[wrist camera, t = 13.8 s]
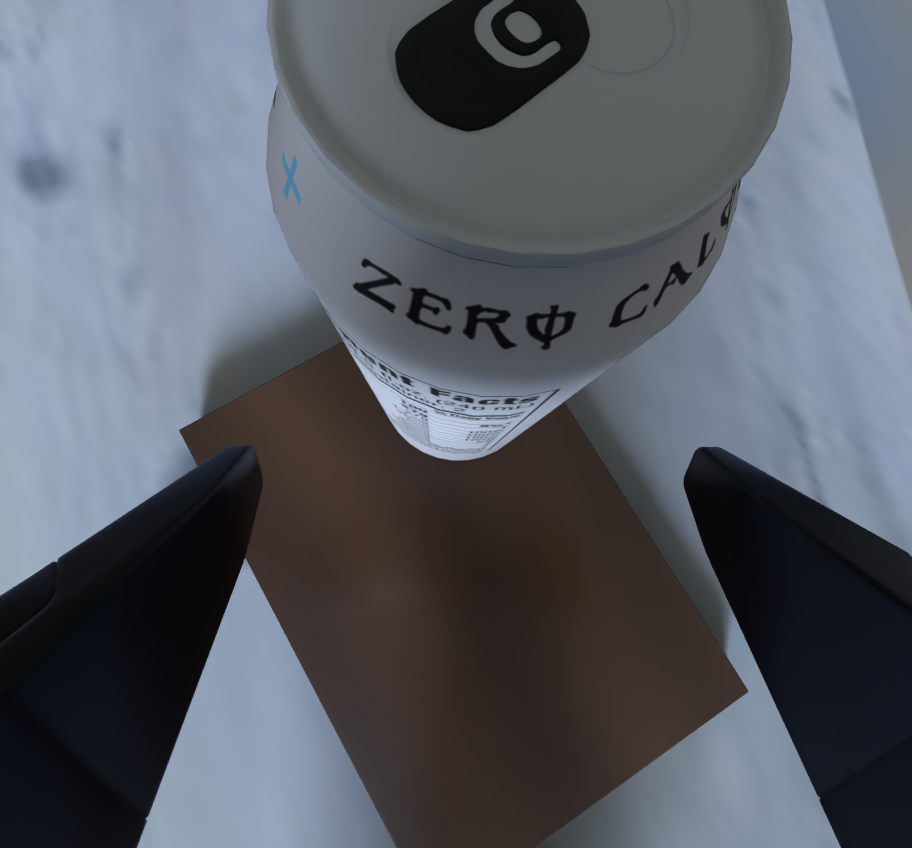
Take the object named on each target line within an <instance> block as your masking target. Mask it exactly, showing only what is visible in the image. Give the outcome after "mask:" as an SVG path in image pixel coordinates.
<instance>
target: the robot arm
mask: <svg viewBox="0 0 912 848" xmlns="http://www.w3.org/2000/svg"><path fill="white" fill-rule="evenodd" d="M262 488H263V475H262V472H261V468H260V465H259V461H258V458H257V454H256V451H255V449H254V447H253V446H251V445H230V446H228V447H226V448H225V449H223V450H222V451H220V452H219V453H217V454H216V455H214V456H213V457H211V458H210V459H208V460H207V461H205V462H204V463H202V464H201V465H199V466H198V467H196V468H195V469H193V470H192V471H190V472H188V473H187V474H185V475H184V476H182V477H181V478H179V479H178V480H176V481H175V482H173V483H172V484H170V485H169V486H167V487H166V488H164V489H163V490H161V491H160V492H158V493H157V494H155V495H154V496H152V497H151V498H149V499H148V500H146V501H145V502H143V503H141V504H140V505H138V506H137V507H135V508H134V509H132V510H131V511H129V512H128V513H126V514H125V515H123V516H122V517H120V518H119V519H117V520H116V521H114V522H113V523H111V524H110V525H108V526H107V527H105V528H104V529H102V530H101V531H99V532H97V533H96V534H94V535H93V536H91V537H90V538H88V539H87V540H85V541H84V542H82V543H81V544H79V545H78V546H76V547H75V548H73V549H72V550H70V551H69V552H67V553H66V554H64V555H63V556H61V557H60V558H58V561H57V562H52V563H50V564H49V565H47V566H46V567H44V568H43V569H41V570H40V571H38V572H37V573H35V574H34V575H32V576H31V577H29V578H27V579H26V580H24V581H23V582H21V583H20V584H18V585H17V586H15V587H13V588H12V589H10V590H9V591H7V592H6V593H4V594H2V595H1V596H0V848H137V846H138V843H139V841H140V838H141V835H142V833H143V830H144V827H145V825H146V822H147V820H146V818H147V817H148V815H149V813H150V810H151V808H152V805H153V802H154V800H155V797H156V794H157V792H158V789H159V786H160V784H161V781H162V778H163V776H164V773H165V770H166V768H167V765H168V762H169V760H170V757H171V754H172V752H173V749H174V746H175V744H176V741H177V738H178V736H179V733H180V730H181V728H182V725H183V722H184V720H185V717H186V714H187V712H188V709H189V706H190V704H191V701H192V698H193V696H194V693H195V690H196V687H197V685H198V682H199V679H200V677H201V674H202V671H203V669H204V666H205V663H206V661H207V658H208V655H209V653H210V650H211V647H212V645H213V642H214V639H215V637H216V634H217V631H218V629H219V626H220V623H221V621H222V618H223V615H224V613H225V610H226V607H227V605H228V602H229V599H230V597H231V594H232V591H233V589H234V586H235V583H236V581H237V578H238V575H239V573H240V570H241V567H242V565H243V562H244V559H245V556H246V553H247V549H248V545H249V541H250V537H251V533H252V529H253V525H254V521H255V517H256V513H257V508H258V504H259V500H260V496H261V492H262ZM684 489H685V492H686V495H687V498H688V501H689V504H690V507H691V510H692V513H693V516H694V519H695V522H696V525H697V528H698V531H699V534H700V537H701V540H702V543H703V546H704V548H705V551H706V553H707V556H708V558H709V560H710V563H711V565H712V567H713V569H714V571H715V574H716V576H717V578H718V580H719V582H720V585H721V587H722V589H723V591H724V593H725V595H726V598H727V600H728V602H729V604H730V606H731V608H732V611H733V613H734V615H735V617H736V619H737V622H738V624H739V626H740V628H741V630H742V632H743V635H744V637H745V639H746V641H747V643H748V645H749V648H750V650H751V652H752V654H753V656H754V659H755V661H756V663H757V665H758V667H759V669H760V672H761V674H762V676H763V678H764V680H765V682H766V685H767V687H768V689H769V691H770V693H771V696H772V698H773V700H774V702H775V704H776V706H777V709H778V711H779V713H780V715H781V717H782V719H783V722H784V724H785V726H786V728H787V730H788V733H789V735H790V737H791V739H792V741H793V743H794V746H795V748H796V750H797V752H798V754H799V756H800V759H801V761H802V763H803V765H804V767H805V770H806V772H807V774H808V776H809V778H810V780H811V783H812V785H813V787H814V789H815V791H816V793H817V795H818V797H820V803H821V805H822V807H823V809H824V812H825V814H826V816H827V818H828V820H829V823H830V825H831V827H832V829H833V831H834V833H835V836H836V838H837V840H838V842H839V844H840V846H841V848H912V556H910V554H909V553H907V552H906V551H904V550H902V549H900V548H898V547H897V546H895V545H893V544H891V543H890V542H888V541H886V540H884V539H882V538H881V537H879V536H877V535H875V534H874V533H872V532H870V531H868V530H866V529H865V528H863V527H861V526H859V525H857V524H856V523H854V522H852V521H850V520H849V519H847V518H845V517H843V516H841V515H840V514H838V513H836V512H834V511H833V510H831V509H829V508H827V507H825V506H824V505H822V504H820V503H818V502H817V501H815V500H813V499H811V498H809V497H808V496H806V495H804V494H802V493H801V492H799V491H797V490H795V489H793V488H792V487H790V486H788V485H786V484H785V483H783V482H781V481H779V480H777V479H776V478H774V477H772V476H770V475H768V474H767V473H765V472H763V471H761V470H760V469H758V468H756V467H754V466H752V465H751V464H749V463H747V462H745V461H744V460H742V459H740V458H738V457H736V456H735V455H733V454H731V453H729V452H728V451H726V450H724V449H722V448H720V447H700V448H698V449H697V450H696V451H695V453H694V455H693V457H692V459H691V462H690V464H689V466H688V469H687V471H686V473H685V476H684Z"/></svg>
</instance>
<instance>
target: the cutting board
mask: <svg viewBox="0 0 912 848" xmlns="http://www.w3.org/2000/svg"><path fill="white" fill-rule="evenodd" d="M179 431H180V433H181V435H182V437H183V439H184V441H185V443H186V445H187V447H188V448H189V450H190V452H191V454H192V456H193V458H194V460H195V462H196V464H197V466H199V465H201V464H202V463H204V462H205V461H207V460H208V459H210V458H211V457H213V456H214V455H216V454H217V453H219V452H220V451H222V450H223V449H225V448H226V447H228V446H230V445H251V446H253V447H254V449H255V451H256V454H257V458H258V461H259V465H260V468H261V472H262V475H263V488H262V492H261V496H260V500H259V504H258V508H257V513H256V517H255V521H254V525H253V529H252V533H251V537H250V541H249V545H248V549H247V553H246V556H245V558H246V560H247V562H248V564H249V565H250V567H251V569H252V571H253V573H254V575H255V577H256V579H257V581H258V583H259V585H260V587H261V589H262V590H263V592H264V594H265V596H266V598H267V600H268V602H269V604H270V606H271V608H272V610H273V612H274V613H275V615H276V617H277V619H278V621H279V623H280V625H281V627H282V629H283V631H284V633H285V635H286V636H287V638H288V640H289V642H290V644H291V646H292V648H293V650H294V652H295V654H296V656H297V658H298V660H299V661H300V663H301V665H302V667H303V669H304V671H305V673H306V675H307V677H308V679H309V681H310V683H311V684H312V686H313V688H314V690H315V692H316V694H317V696H318V698H319V700H320V702H321V704H322V706H323V707H324V709H325V711H326V713H327V715H328V717H329V719H330V721H331V723H332V725H333V727H334V729H335V731H336V732H337V734H338V736H339V738H340V740H341V742H342V744H343V746H344V748H345V750H346V752H347V754H348V755H349V757H350V759H351V761H352V763H353V765H354V767H355V769H356V771H357V773H358V775H359V777H360V778H361V780H362V782H363V784H364V786H365V788H366V790H367V792H368V794H369V796H370V798H371V800H372V802H373V803H374V805H375V807H376V809H377V811H378V813H379V815H380V817H381V819H382V821H383V823H384V825H385V826H386V828H387V830H388V832H389V834H390V836H391V838H392V840H393V842H394V844H395V846H396V848H534V847H536V846H537V845H538V844H540V843H541V842H542V841H544V840H545V839H547V838H548V837H549V836H551V835H552V834H553V833H555V832H556V831H558V830H559V829H560V828H562V827H563V826H564V825H566V824H567V823H569V822H570V821H571V820H573V819H574V818H575V817H577V816H578V815H580V814H581V813H582V812H584V811H585V810H586V809H588V808H589V807H591V806H592V805H593V804H595V803H596V802H597V801H599V800H600V799H602V798H603V797H604V796H606V795H607V794H608V793H610V792H611V791H613V790H614V789H615V788H617V787H618V786H619V785H621V784H622V783H624V782H625V781H626V780H628V779H629V778H630V777H632V776H633V775H635V774H636V773H637V772H639V771H640V770H641V769H643V768H644V767H646V766H647V765H648V764H650V763H651V762H652V761H654V760H655V759H657V758H658V757H659V756H661V755H662V754H663V753H665V752H666V751H668V750H669V749H670V748H672V747H673V746H674V745H676V744H677V743H679V742H680V741H681V740H683V739H684V738H686V737H687V736H688V735H690V734H691V733H692V732H694V731H695V730H697V729H698V728H699V727H701V726H702V725H703V724H705V723H706V722H708V721H709V720H710V719H712V718H713V717H714V716H716V715H717V714H719V713H720V712H721V711H723V710H724V709H725V708H727V707H728V706H730V705H731V704H732V703H734V702H735V701H736V700H738V699H739V698H741V697H742V696H743V695H745V694H746V693H747V692H748V690H747V688H746V686H745V685H744V683H743V682H742V680H741V679H740V677H739V675H738V674H737V672H736V671H735V669H734V668H733V666H732V664H731V663H730V661H729V660H728V658H727V657H726V655H725V653H724V652H723V650H722V649H721V647H720V646H719V644H718V642H717V641H716V639H715V638H714V636H713V635H712V633H711V631H710V630H709V628H708V627H707V625H706V624H705V622H704V620H703V619H702V617H701V616H700V614H699V613H698V611H697V609H696V608H695V606H694V605H693V603H692V602H691V600H690V598H689V597H688V595H687V594H686V592H685V591H684V589H683V587H682V586H681V584H680V583H679V581H678V580H677V578H676V576H675V575H674V573H673V572H672V570H671V569H670V567H669V565H668V564H667V562H666V561H665V559H664V558H663V556H662V554H661V553H660V551H659V550H658V548H657V547H656V545H655V543H654V542H653V540H652V539H651V537H650V536H649V534H648V532H647V531H646V529H645V528H644V526H643V525H642V523H641V521H640V520H639V518H638V517H637V515H636V514H635V512H634V510H633V509H632V507H631V506H630V504H629V503H628V501H627V499H626V498H625V496H624V495H623V493H622V492H621V490H620V488H619V487H618V485H617V484H616V482H615V481H614V479H613V477H612V476H611V474H610V473H609V471H608V470H607V468H606V466H605V465H604V463H603V462H602V460H601V459H600V457H599V455H598V454H597V452H596V451H595V449H594V448H593V446H592V444H591V443H590V441H589V440H588V438H587V437H586V435H585V433H584V432H583V430H582V429H581V427H580V426H579V424H578V422H577V421H576V419H575V418H574V416H573V415H572V413H571V411H570V410H569V408H568V407H567V405H566V404H565V402H563V403H562V404H560V405H559V406H558V407H556V408H555V409H554V410H552V411H551V412H549V413H548V414H547V415H545V416H544V417H543V418H541V419H540V420H539V421H537V422H536V423H535V424H533V425H532V426H530V427H529V428H528V429H526V430H525V431H524V432H522V433H521V434H520V435H518V436H517V437H516V438H514V439H513V440H511V441H510V442H509V443H507V444H506V445H504V446H503V447H502V448H500V449H499V450H497V451H495V452H493V453H491V454H488V455H486V456H484V457H480V458H476V459H471V460H447V459H442V458H437V457H434V456H432V455H429V454H427V453H424V452H422V451H420V450H419V449H417V448H416V447H414V446H413V445H411V444H410V443H409V442H408V441H407V440H406V439H405V438H403V437H402V436H401V435H400V434H399V433H398V431H397V430H396V428H395V427H394V425H393V424H392V422H391V421H390V419H389V418H388V416H387V414H386V412H385V411H384V409H383V407H382V406H381V404H380V402H379V401H378V399H377V397H376V395H375V394H374V392H373V390H372V389H371V387H370V385H369V384H368V382H367V380H366V379H365V377H364V375H363V373H362V372H361V370H360V368H359V367H358V365H357V363H356V362H355V360H354V358H353V356H352V355H351V353H350V351H349V350H348V348H347V346H346V345H345V343H344V341H343V342H341V343H339V344H338V345H336V346H334V347H332V348H330V349H328V350H326V351H325V352H323V353H321V354H319V355H317V356H315V357H314V358H312V359H310V360H308V361H306V362H304V363H302V364H301V365H299V366H297V367H295V368H293V369H291V370H289V371H288V372H286V373H284V374H282V375H280V376H278V377H277V378H275V379H273V380H271V381H269V382H267V383H265V384H264V385H262V386H260V387H258V388H256V389H254V390H252V391H251V392H249V393H247V394H245V395H243V396H241V397H240V398H238V399H236V400H234V401H232V402H230V403H228V404H227V405H225V406H223V407H221V408H219V409H217V410H215V411H214V412H212V413H210V414H208V415H206V416H204V417H202V418H201V419H199V420H197V421H195V422H193V423H191V424H190V425H188V426H186V427H184V428H182V429H180V430H179Z"/></svg>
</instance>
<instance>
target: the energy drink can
mask: <svg viewBox="0 0 912 848" xmlns="http://www.w3.org/2000/svg"><path fill="white" fill-rule="evenodd" d="M267 32H268V38H269V43H270V49H271V54H272V60H273V65H274V71H275V75H276V78H277V81H278V84H277V87H276V91H275V95H274V99H273V103H272V107H271V111H270V116H269V123H268V142H267V162H266V169H267V175H268V180H269V186H270V192H271V198H272V203H273V209H274V212H275V215H276V217H277V220H278V222H279V224H280V227H281V229H282V232H283V234H284V237H285V239H286V241H287V244H288V246H289V249H290V251H291V253H292V255H293V256H294V258H295V260H296V262H297V263H298V265H299V267H300V268H301V270H302V272H303V273H304V275H305V277H306V279H307V280H308V282H309V284H310V285H311V287H312V289H313V290H314V292H315V294H316V295H317V297H318V299H319V301H320V302H321V304H322V306H323V307H324V309H325V311H326V312H327V314H328V316H329V318H330V319H331V321H332V323H333V324H334V326H335V328H336V329H337V331H338V333H339V334H340V336H341V338H342V340H343V341H344V343H345V345H346V346H347V348H348V350H349V351H350V353H351V355H352V356H353V358H354V360H355V362H356V363H357V365H358V367H359V368H360V370H361V372H362V373H363V375H364V377H365V379H366V380H367V382H368V384H369V385H370V387H371V389H372V390H373V392H374V394H375V395H376V397H377V399H378V401H379V402H380V404H381V406H382V407H383V409H384V411H385V412H386V414H387V416H388V418H389V419H390V421H391V422H392V424H393V425H394V427H395V428H396V430H397V431H398V433H399V434H400V435H401V436H402V437H403V438H405V439H406V440H407V441H408V442H409V443H410V444H411V445H413V446H414V447H416V448H417V449H419V450H420V451H422V452H424V453H427V454H429V455H432V456H434V457H437V458H442V459H447V460H471V459H476V458H480V457H484V456H486V455H488V454H491V453H493V452H495V451H497V450H499V449H500V448H502V447H503V446H504V445H506V444H507V443H509V442H510V441H511V440H513V439H514V438H516V437H517V436H518V435H520V434H521V433H522V432H524V431H525V430H526V429H528V428H529V427H530V426H532V425H533V424H535V423H536V422H537V421H539V420H540V419H541V418H543V417H544V416H545V415H547V414H548V413H549V412H551V411H552V410H554V409H555V408H556V407H558V406H559V405H560V404H562V403H563V402H564V401H566V400H567V399H568V398H570V397H571V396H573V395H574V394H575V393H577V392H578V391H579V390H581V389H582V388H583V387H585V386H586V385H587V384H589V383H590V382H592V381H593V380H594V379H596V378H597V377H598V376H600V375H601V374H602V373H604V372H605V371H606V370H608V369H609V368H611V367H612V366H613V365H615V364H616V363H617V362H619V361H620V360H621V359H623V358H624V357H625V356H627V355H628V354H630V353H631V352H632V351H634V350H635V349H636V348H638V347H639V346H640V345H642V344H643V343H644V342H646V341H647V340H649V339H650V338H651V337H653V336H654V335H655V334H657V333H658V332H659V331H661V330H662V329H663V328H665V327H666V326H668V325H669V324H670V323H671V322H672V321H673V320H674V319H675V318H676V317H677V315H678V314H679V313H680V312H681V311H682V310H683V309H684V308H685V307H686V306H687V305H688V304H689V303H690V301H691V300H692V299H693V298H694V297H695V296H696V295H697V294H698V293H699V292H700V290H701V288H702V287H703V285H704V283H705V282H706V280H707V278H708V276H709V275H710V273H711V271H712V270H713V268H714V266H715V264H716V263H717V261H718V259H719V258H720V256H721V254H722V251H723V248H724V244H725V241H726V238H727V235H728V232H729V229H730V225H731V222H732V219H733V216H734V213H735V210H736V205H737V199H738V193H739V187H740V181H741V178H742V177H743V176H744V175H745V174H746V173H747V172H748V171H749V170H750V168H751V167H752V166H753V164H754V163H755V161H756V159H757V158H758V156H759V154H760V152H761V151H762V149H763V147H764V146H765V144H766V142H767V141H768V139H769V137H770V136H771V134H772V132H773V131H774V129H775V127H776V124H777V121H778V118H779V114H780V111H781V108H782V105H783V102H784V98H785V95H786V92H787V89H788V85H789V80H790V66H791V52H792V33H791V26H790V20H789V13H788V7H787V0H268V8H267Z"/></svg>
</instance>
